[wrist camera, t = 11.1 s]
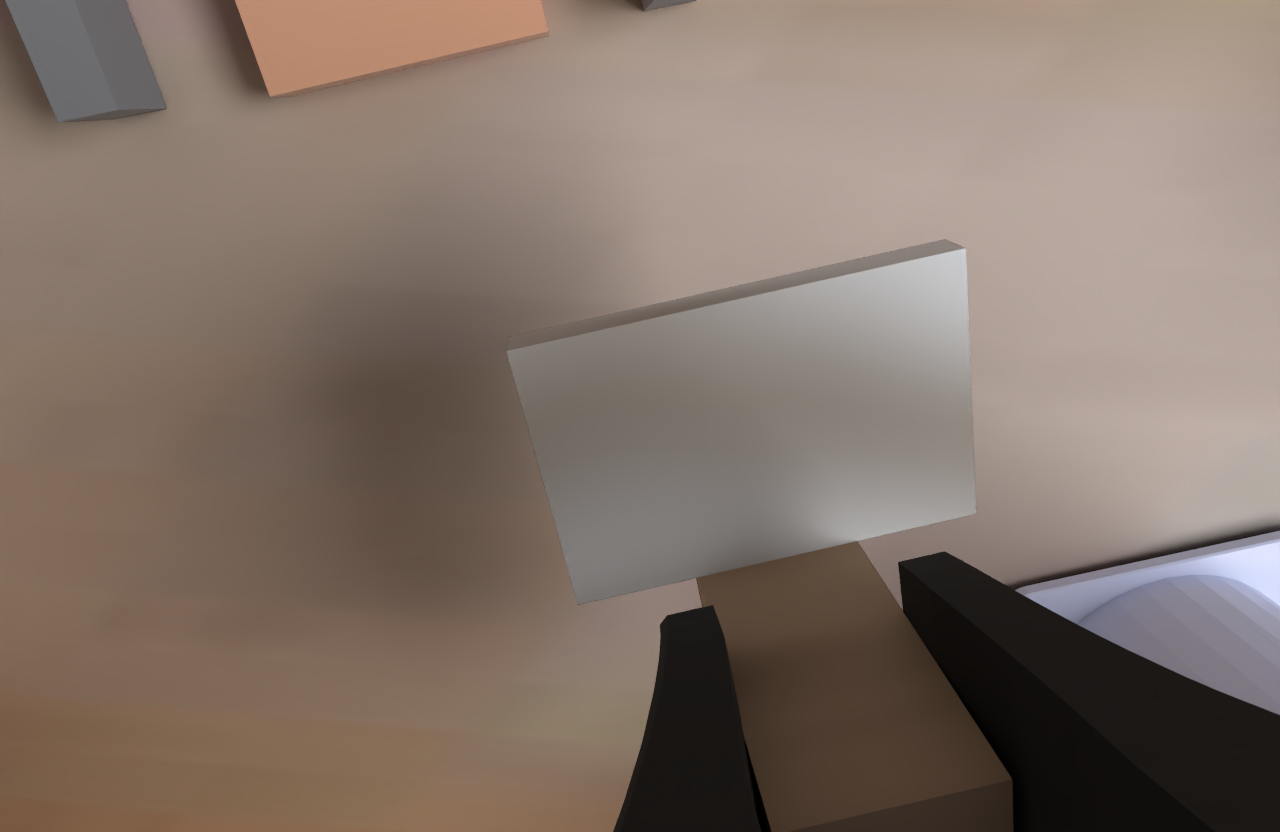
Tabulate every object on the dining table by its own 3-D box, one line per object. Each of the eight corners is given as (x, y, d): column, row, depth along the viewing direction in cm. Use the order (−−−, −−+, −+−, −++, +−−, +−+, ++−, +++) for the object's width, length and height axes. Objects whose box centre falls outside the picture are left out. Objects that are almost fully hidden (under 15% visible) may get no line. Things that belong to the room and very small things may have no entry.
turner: (969, 734, 15) (1160, 1039, 10) (641, 810, 14) (682, 1153, 10) (945, 239, 11) (1228, 359, 6) (507, 337, 11) (476, 530, 6)
